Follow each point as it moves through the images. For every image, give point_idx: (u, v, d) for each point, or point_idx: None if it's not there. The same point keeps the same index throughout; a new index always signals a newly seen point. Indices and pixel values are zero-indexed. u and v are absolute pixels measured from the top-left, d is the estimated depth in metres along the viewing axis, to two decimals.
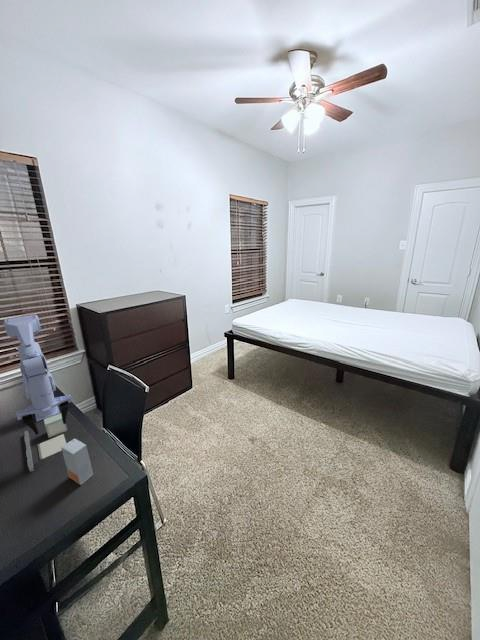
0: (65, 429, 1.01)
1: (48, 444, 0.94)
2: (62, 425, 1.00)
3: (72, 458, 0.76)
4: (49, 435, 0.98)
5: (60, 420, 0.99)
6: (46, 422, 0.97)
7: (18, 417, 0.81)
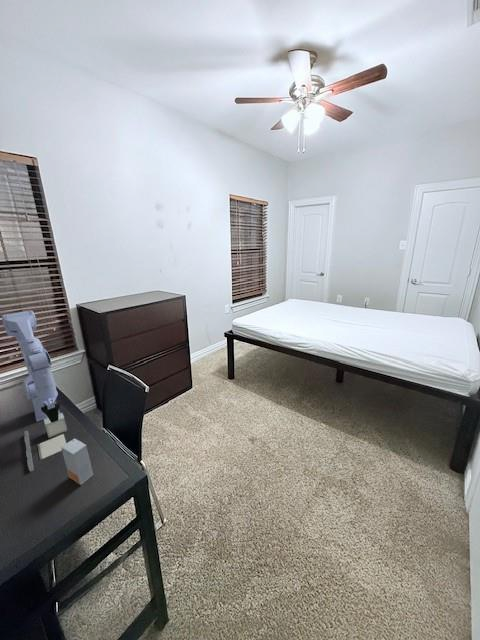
0: (65, 429, 1.01)
1: (48, 444, 0.94)
2: (62, 425, 1.00)
3: (72, 458, 0.76)
4: (49, 435, 0.98)
5: (61, 420, 0.99)
6: (46, 422, 0.97)
7: None
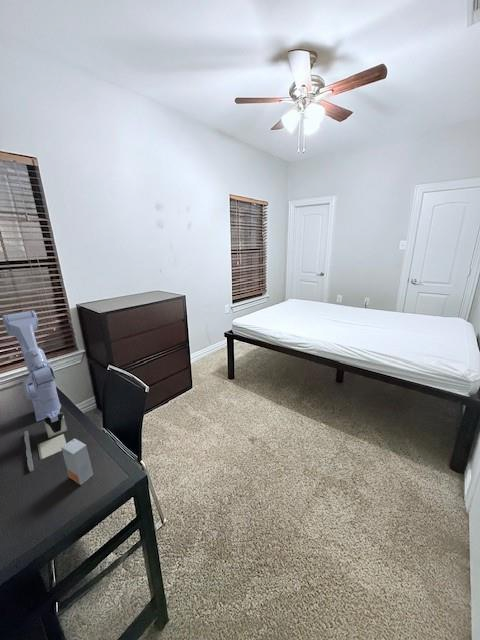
0: (65, 429, 1.01)
1: (48, 444, 0.94)
2: (62, 425, 1.00)
3: (72, 458, 0.76)
4: (49, 435, 0.98)
5: None
6: None
7: None
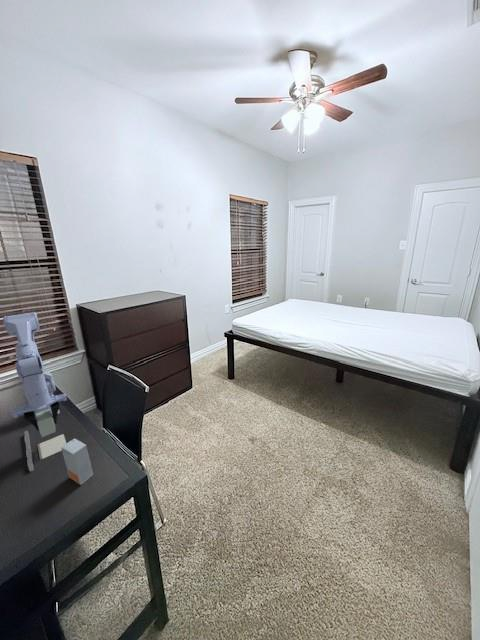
0: None
1: (48, 444, 0.94)
2: None
3: (72, 458, 0.76)
4: (55, 428, 0.91)
5: None
6: (47, 417, 0.89)
7: (14, 415, 0.84)
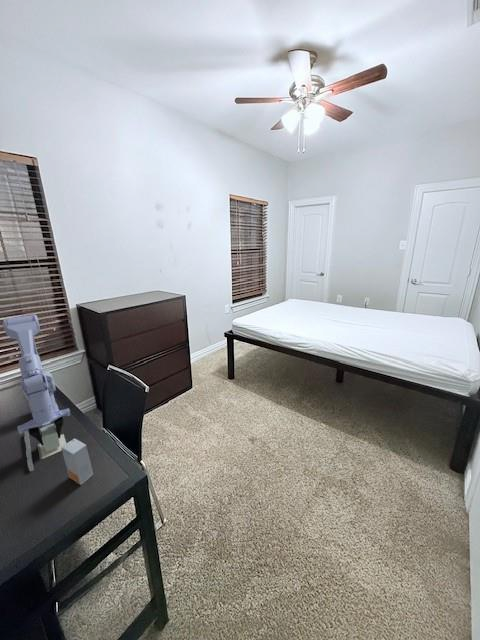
0: None
1: None
2: None
3: (72, 458, 0.76)
4: None
5: None
6: (51, 432, 0.90)
7: (19, 431, 0.85)
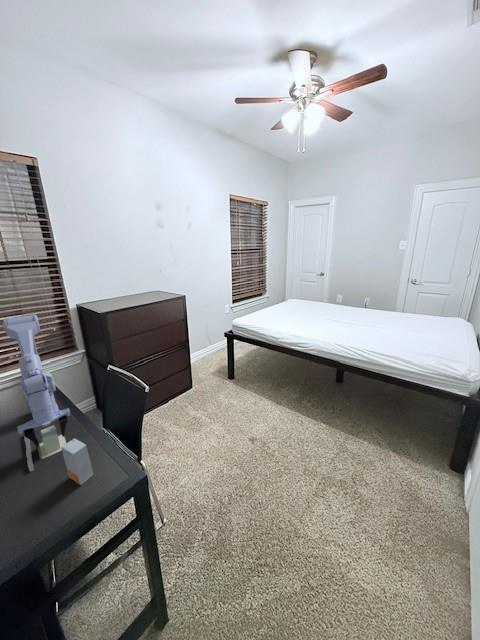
0: None
1: None
2: None
3: (72, 458, 0.76)
4: (59, 444, 0.93)
5: (55, 428, 0.95)
6: (52, 434, 0.91)
7: (19, 431, 0.85)
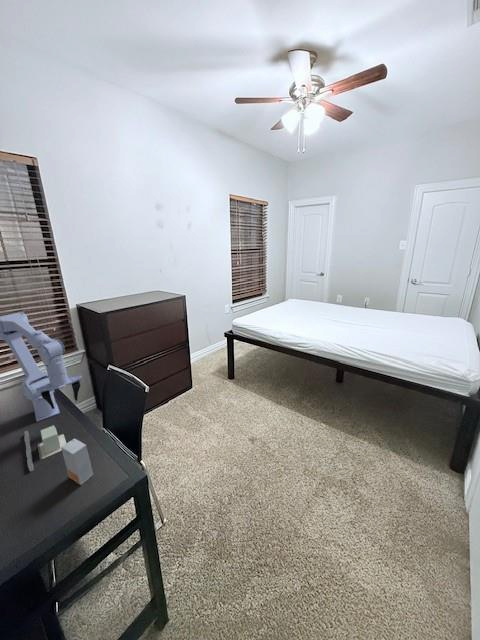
0: None
1: None
2: None
3: (72, 458, 0.76)
4: (59, 444, 0.93)
5: (55, 428, 0.95)
6: (52, 434, 0.91)
7: (38, 393, 0.95)
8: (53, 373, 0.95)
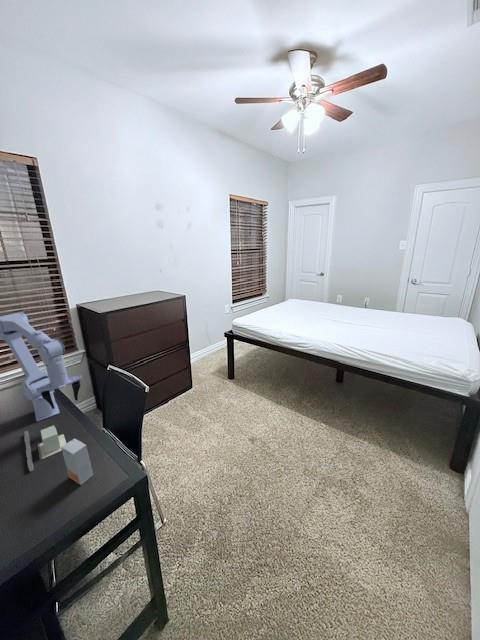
0: None
1: None
2: None
3: (72, 458, 0.76)
4: (59, 444, 0.93)
5: (55, 428, 0.95)
6: (52, 434, 0.91)
7: (38, 393, 0.95)
8: (53, 373, 0.95)
